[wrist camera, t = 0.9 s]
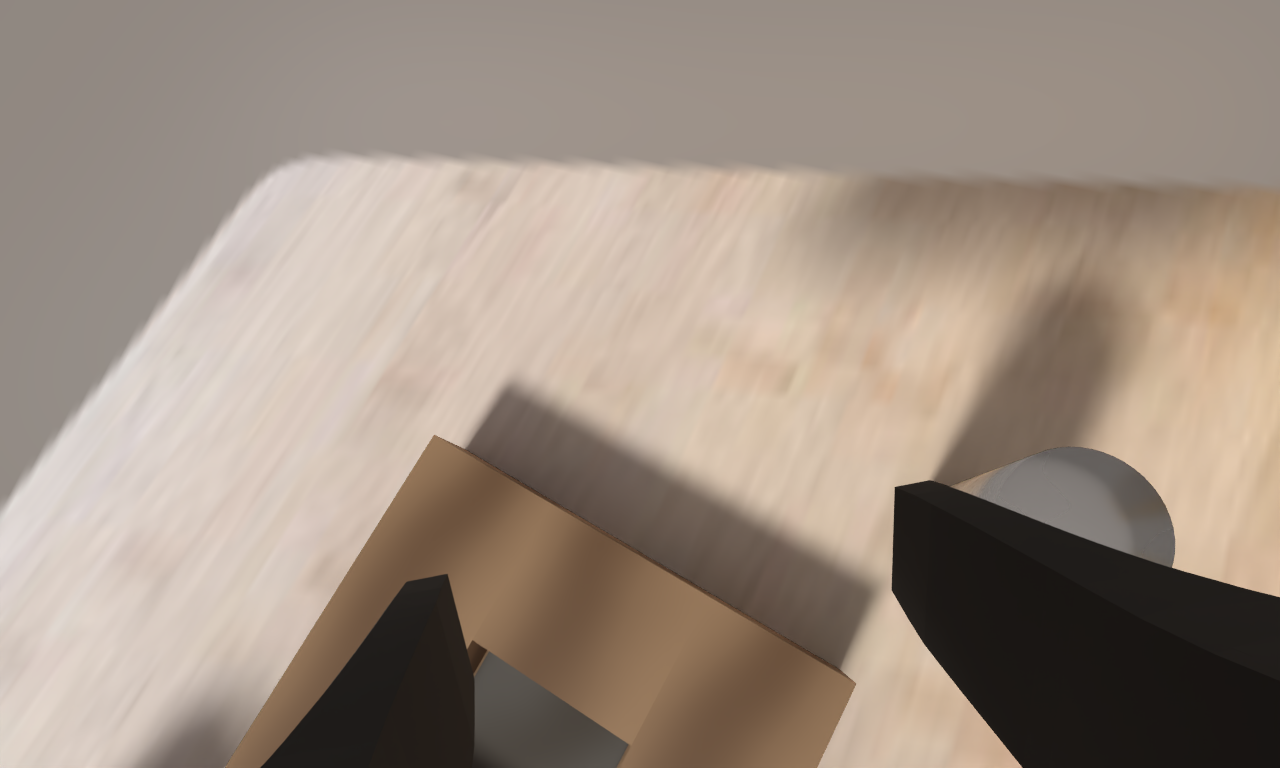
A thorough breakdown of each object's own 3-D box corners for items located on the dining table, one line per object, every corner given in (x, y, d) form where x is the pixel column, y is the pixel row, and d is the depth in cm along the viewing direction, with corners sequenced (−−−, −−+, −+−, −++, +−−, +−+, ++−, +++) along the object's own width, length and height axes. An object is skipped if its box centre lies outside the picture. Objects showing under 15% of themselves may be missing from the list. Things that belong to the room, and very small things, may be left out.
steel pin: (1046, 520, 24) (1200, 496, 16) (1001, 625, 23) (1138, 651, 15) (936, 465, 25) (1032, 418, 17) (889, 564, 24) (967, 562, 16)
